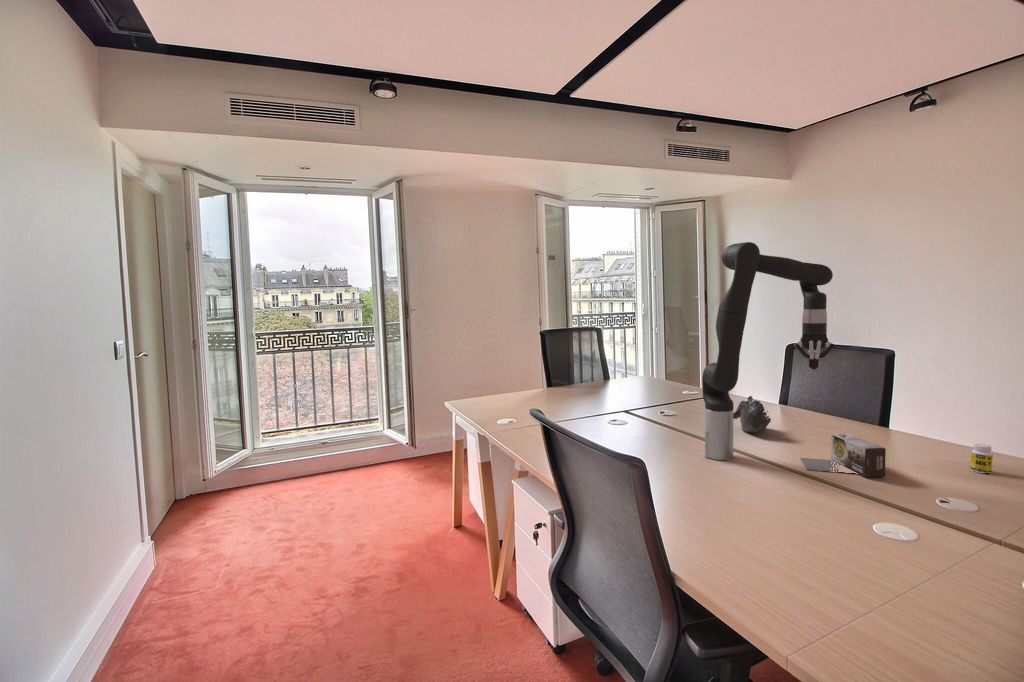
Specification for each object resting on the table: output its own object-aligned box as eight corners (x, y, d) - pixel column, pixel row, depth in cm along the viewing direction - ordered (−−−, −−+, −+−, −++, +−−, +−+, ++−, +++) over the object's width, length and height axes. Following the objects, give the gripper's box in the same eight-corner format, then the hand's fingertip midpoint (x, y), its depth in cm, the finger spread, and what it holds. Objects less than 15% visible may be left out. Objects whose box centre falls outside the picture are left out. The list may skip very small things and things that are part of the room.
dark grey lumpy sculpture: (728, 424, 212) (739, 440, 193) (732, 391, 209) (743, 404, 190) (763, 427, 209) (777, 444, 190) (767, 394, 207) (782, 408, 187)
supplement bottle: (973, 473, 151) (974, 446, 150) (967, 468, 155) (969, 442, 154) (994, 475, 149) (995, 448, 148) (988, 470, 153) (989, 443, 152)
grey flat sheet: (806, 470, 158) (806, 469, 158) (800, 458, 169) (800, 457, 169) (881, 476, 151) (881, 475, 150) (870, 464, 161) (870, 463, 161)
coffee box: (848, 458, 166) (885, 477, 149) (829, 459, 165) (864, 478, 149) (849, 432, 165) (886, 448, 148) (830, 433, 164) (865, 449, 148)
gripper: (795, 322, 175) (794, 370, 177) (838, 322, 170) (837, 371, 172) (791, 321, 182) (791, 367, 184) (833, 320, 177) (832, 367, 179)
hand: (813, 369), depth 178 cm, fingers closed
